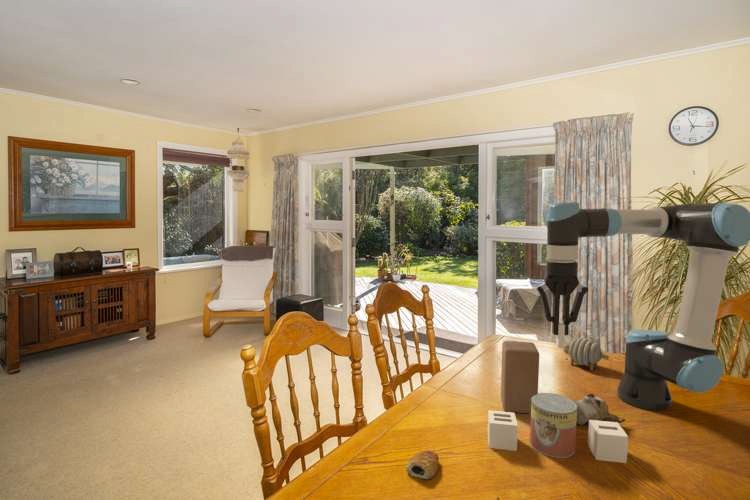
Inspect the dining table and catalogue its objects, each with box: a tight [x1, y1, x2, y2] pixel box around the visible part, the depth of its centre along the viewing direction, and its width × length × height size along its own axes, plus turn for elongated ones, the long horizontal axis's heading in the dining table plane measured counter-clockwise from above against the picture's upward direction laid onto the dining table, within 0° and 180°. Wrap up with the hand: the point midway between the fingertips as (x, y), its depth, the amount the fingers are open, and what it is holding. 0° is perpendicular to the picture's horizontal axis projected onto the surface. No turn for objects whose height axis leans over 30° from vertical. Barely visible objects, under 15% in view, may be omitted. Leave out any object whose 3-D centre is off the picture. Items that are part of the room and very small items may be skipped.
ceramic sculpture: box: [572, 393, 626, 426], centre depth 123 cm, size 11×9×15 cm
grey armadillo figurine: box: [562, 338, 610, 371], centre depth 165 cm, size 11×17×11 cm, turn 48°
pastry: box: [405, 449, 440, 480], centre depth 102 cm, size 9×7×4 cm
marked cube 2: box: [587, 420, 629, 464], centre depth 107 cm, size 7×7×7 cm
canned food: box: [529, 392, 578, 459], centre depth 111 cm, size 11×11×12 cm
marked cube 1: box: [487, 409, 519, 452], centre depth 112 cm, size 7×7×7 cm
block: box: [500, 340, 540, 415], centre depth 132 cm, size 10×10×20 cm
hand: (560, 346), depth 113 cm, fingers closed
